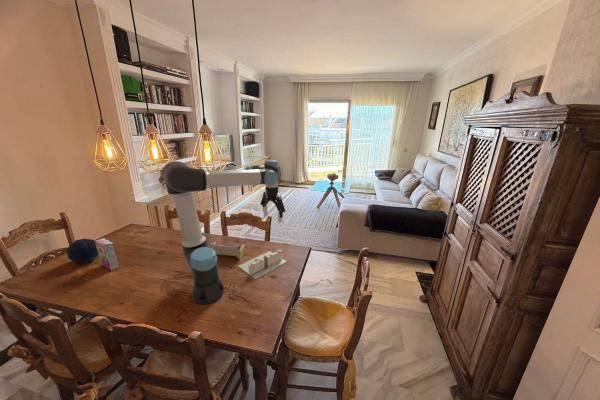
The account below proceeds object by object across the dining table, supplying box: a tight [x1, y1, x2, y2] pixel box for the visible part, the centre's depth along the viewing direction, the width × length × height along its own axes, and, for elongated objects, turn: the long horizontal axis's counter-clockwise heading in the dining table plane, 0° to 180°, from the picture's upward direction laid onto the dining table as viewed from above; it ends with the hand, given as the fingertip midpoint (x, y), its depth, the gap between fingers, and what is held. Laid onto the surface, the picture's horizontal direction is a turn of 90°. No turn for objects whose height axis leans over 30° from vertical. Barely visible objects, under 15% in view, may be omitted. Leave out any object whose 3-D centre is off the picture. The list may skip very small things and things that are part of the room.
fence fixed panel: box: [249, 256, 267, 276], centre depth 135 cm, size 12×2×7 cm, turn 136°
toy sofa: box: [208, 241, 245, 261], centre depth 151 cm, size 21×9×10 cm, turn 84°
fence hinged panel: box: [267, 249, 283, 266], centre depth 143 cm, size 11×1×7 cm, turn 136°
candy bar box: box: [94, 237, 121, 272], centre depth 136 cm, size 11×5×16 cm, turn 59°
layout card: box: [237, 250, 288, 280], centre depth 143 cm, size 24×17×1 cm
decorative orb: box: [66, 238, 99, 264], centre depth 142 cm, size 14×15×15 cm
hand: (272, 219), depth 147 cm, fingers open, 13 cm apart
